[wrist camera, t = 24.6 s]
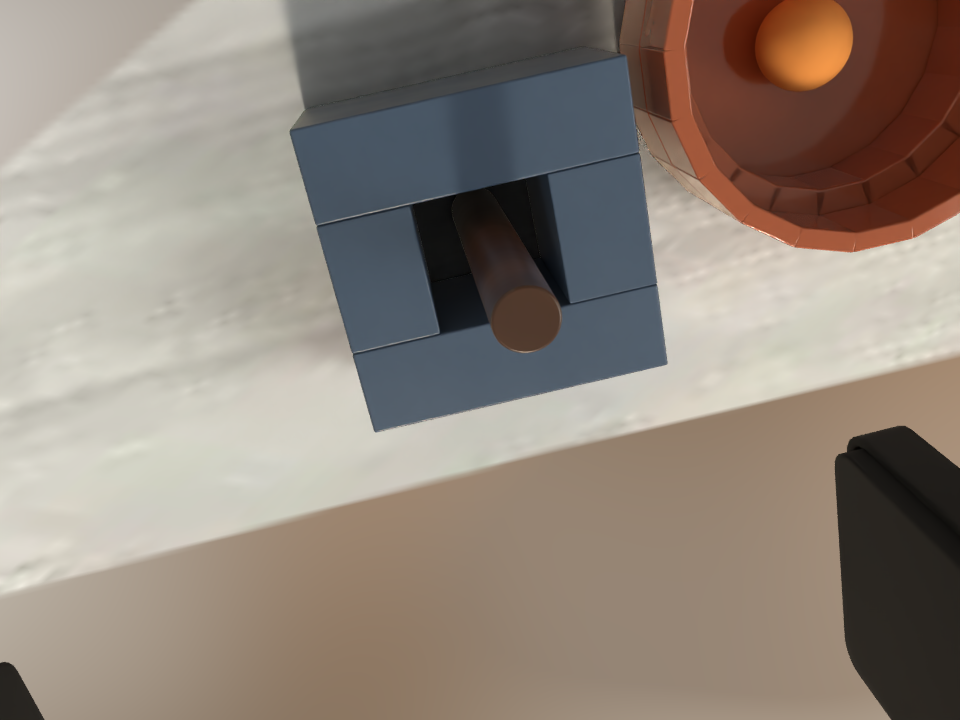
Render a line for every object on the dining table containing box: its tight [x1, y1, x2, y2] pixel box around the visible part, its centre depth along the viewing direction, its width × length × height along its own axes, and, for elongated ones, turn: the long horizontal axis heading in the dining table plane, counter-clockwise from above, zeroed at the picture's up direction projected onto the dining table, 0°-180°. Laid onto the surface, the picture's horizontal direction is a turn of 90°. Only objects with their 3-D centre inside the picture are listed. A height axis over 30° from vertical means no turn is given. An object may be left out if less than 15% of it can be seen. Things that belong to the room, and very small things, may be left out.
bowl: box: [619, 0, 960, 252], centre depth 30 cm, size 13×13×6 cm
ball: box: [755, 0, 853, 92], centre depth 31 cm, size 3×3×3 cm
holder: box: [290, 47, 667, 432], centre depth 31 cm, size 10×10×6 cm
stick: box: [452, 188, 562, 353], centre depth 28 cm, size 2×2×13 cm
